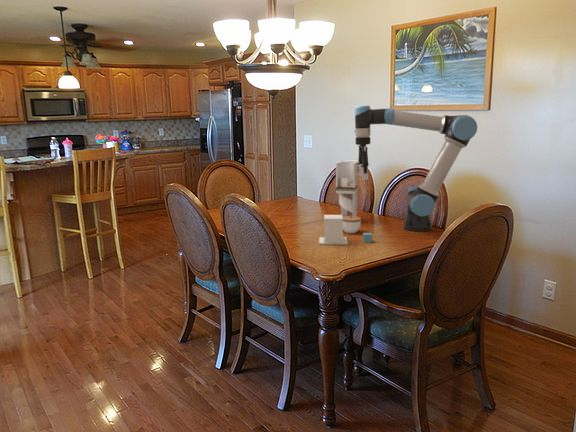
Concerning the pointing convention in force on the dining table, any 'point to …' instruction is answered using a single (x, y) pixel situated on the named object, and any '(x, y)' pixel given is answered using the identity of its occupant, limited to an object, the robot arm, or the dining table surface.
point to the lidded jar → (351, 224)
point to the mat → (321, 242)
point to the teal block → (367, 237)
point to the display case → (347, 186)
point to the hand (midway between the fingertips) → (363, 178)
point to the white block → (333, 229)
